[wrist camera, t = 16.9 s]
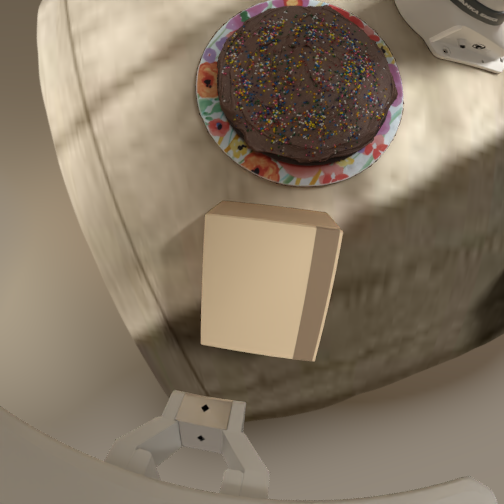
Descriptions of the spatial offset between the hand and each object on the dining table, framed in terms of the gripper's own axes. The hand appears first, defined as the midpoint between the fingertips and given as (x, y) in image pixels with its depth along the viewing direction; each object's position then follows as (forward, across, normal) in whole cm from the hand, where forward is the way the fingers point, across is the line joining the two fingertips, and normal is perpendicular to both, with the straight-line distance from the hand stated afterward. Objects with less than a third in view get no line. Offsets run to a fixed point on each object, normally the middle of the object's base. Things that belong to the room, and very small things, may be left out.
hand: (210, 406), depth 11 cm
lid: (+21, -1, +5) cm, 22 cm away
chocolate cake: (+32, -4, -20) cm, 38 cm away
